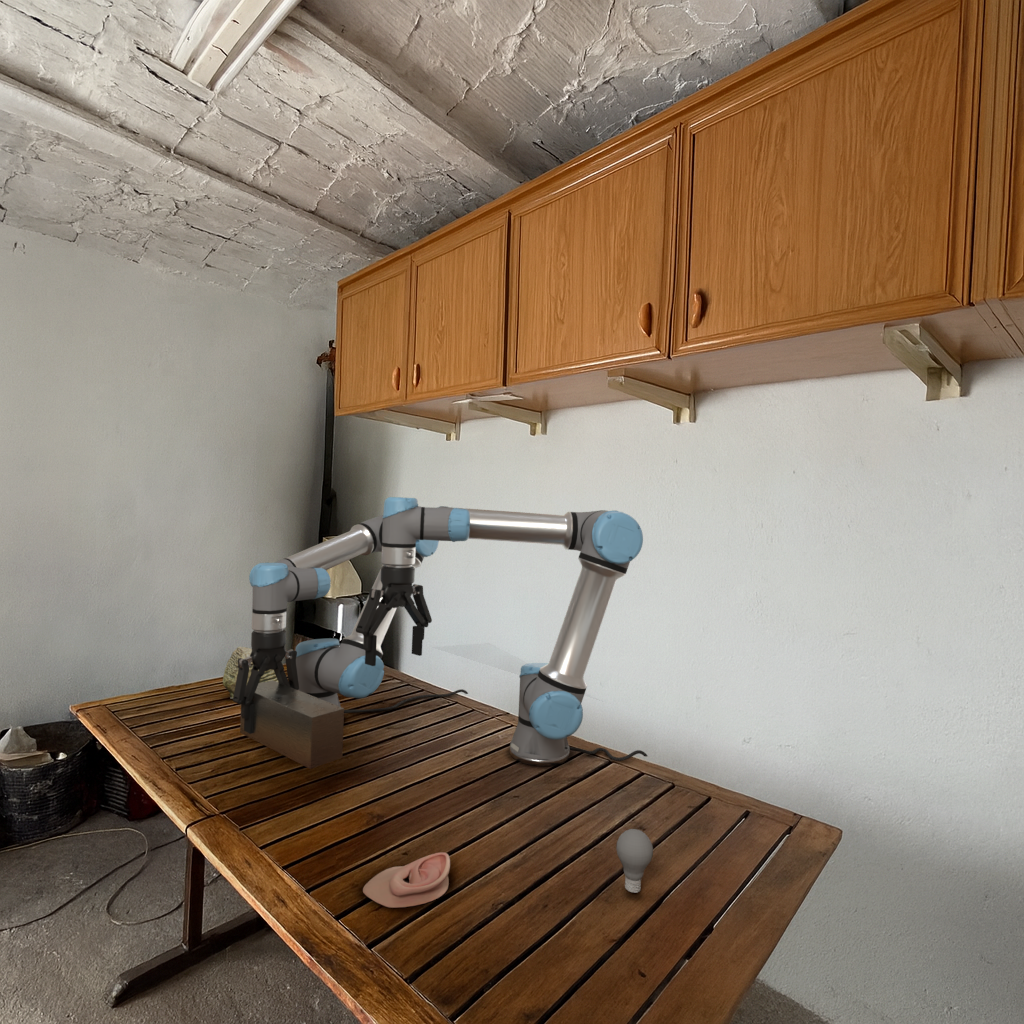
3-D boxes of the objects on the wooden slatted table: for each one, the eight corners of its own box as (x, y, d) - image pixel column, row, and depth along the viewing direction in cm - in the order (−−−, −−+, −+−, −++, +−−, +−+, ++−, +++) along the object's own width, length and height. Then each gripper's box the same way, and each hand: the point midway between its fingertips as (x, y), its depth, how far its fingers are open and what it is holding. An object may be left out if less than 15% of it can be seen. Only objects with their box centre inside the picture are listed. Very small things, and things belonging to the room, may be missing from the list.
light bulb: (610, 879, 108) (613, 822, 108) (644, 879, 109) (647, 822, 109) (619, 902, 102) (622, 840, 102) (655, 901, 103) (658, 840, 103)
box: (240, 732, 147) (241, 687, 147) (271, 724, 154) (272, 680, 153) (310, 769, 130) (311, 717, 130) (342, 757, 136) (344, 708, 136)
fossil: (218, 695, 195) (220, 647, 195) (278, 685, 208) (279, 640, 207) (228, 703, 189) (230, 653, 188) (289, 692, 201) (290, 645, 201)
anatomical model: (355, 876, 100) (384, 838, 111) (354, 901, 100) (383, 861, 111) (435, 890, 97) (457, 850, 108) (434, 916, 97) (456, 873, 108)
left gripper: (233, 639, 137) (230, 743, 137) (317, 626, 153) (314, 719, 154) (216, 633, 141) (214, 734, 142) (299, 621, 158) (296, 712, 158)
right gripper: (363, 570, 130) (359, 673, 131) (449, 564, 150) (445, 653, 150) (341, 567, 135) (337, 665, 135) (426, 561, 155) (423, 647, 155)
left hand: (266, 726), depth 148 cm, fingers closed on box, 8 cm apart
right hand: (394, 659), depth 143 cm, fingers open, 13 cm apart
